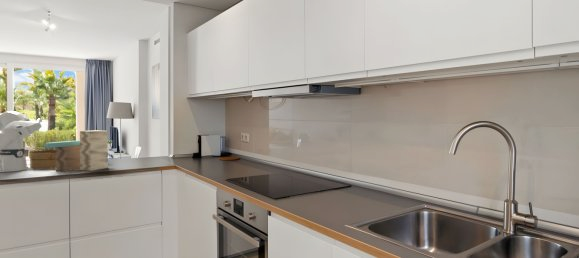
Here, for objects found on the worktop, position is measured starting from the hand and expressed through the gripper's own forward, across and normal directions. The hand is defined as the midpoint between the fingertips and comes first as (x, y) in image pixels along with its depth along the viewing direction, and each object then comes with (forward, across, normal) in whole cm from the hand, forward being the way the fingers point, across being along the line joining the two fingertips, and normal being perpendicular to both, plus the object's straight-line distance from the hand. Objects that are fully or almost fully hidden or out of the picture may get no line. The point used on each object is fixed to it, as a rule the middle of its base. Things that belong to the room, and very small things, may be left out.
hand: (34, 119), depth 203 cm
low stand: (+4, 0, -41) cm, 41 cm away
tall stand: (+10, +13, -45) cm, 47 cm away
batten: (+8, 0, -25) cm, 27 cm away
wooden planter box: (+11, -27, -46) cm, 54 cm away
